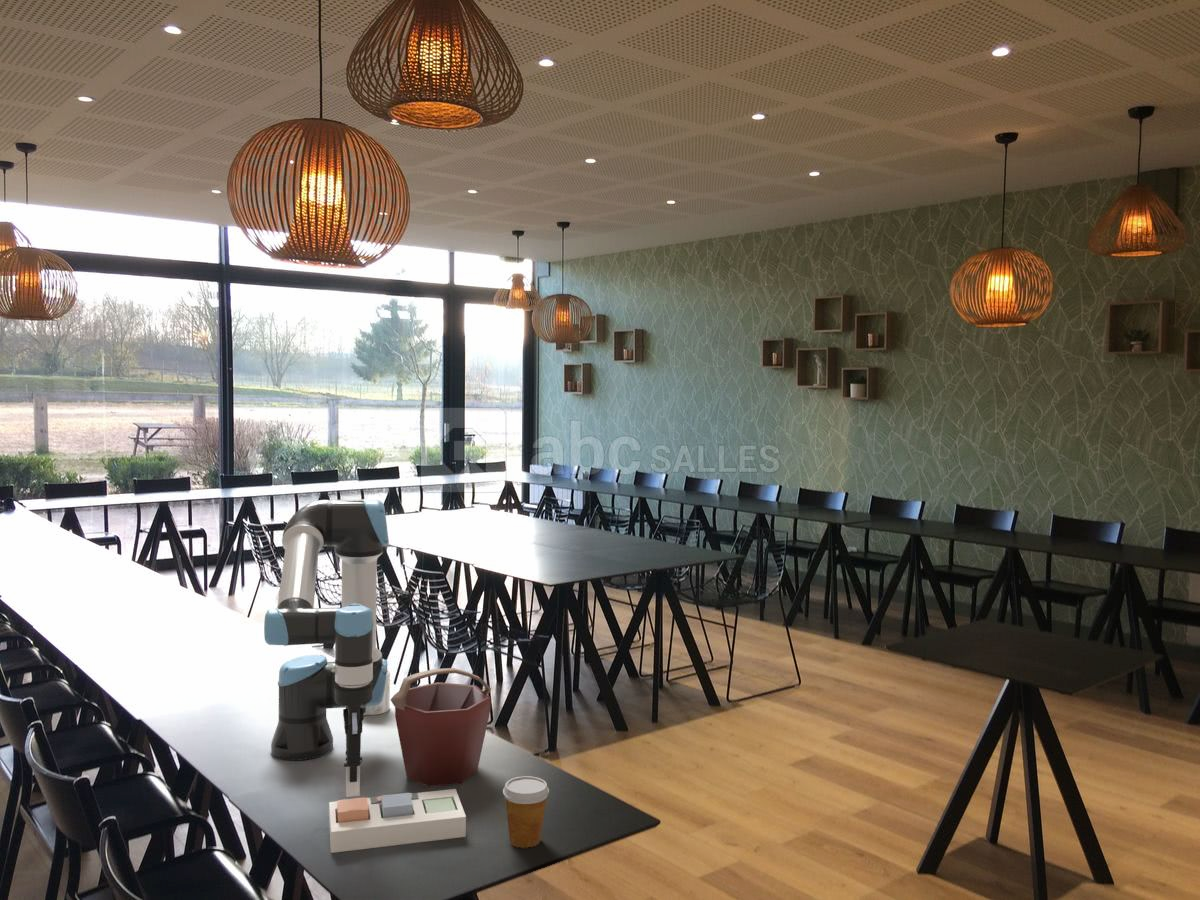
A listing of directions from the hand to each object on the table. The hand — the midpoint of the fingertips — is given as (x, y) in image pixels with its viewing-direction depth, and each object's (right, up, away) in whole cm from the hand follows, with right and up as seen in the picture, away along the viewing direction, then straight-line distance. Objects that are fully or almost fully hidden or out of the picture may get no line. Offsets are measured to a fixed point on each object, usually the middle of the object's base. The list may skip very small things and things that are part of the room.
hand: (352, 794), depth 195 cm
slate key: (+8, -5, +3) cm, 10 cm away
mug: (-14, -4, +75) cm, 76 cm away
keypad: (+8, -9, +4) cm, 12 cm away
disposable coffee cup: (+36, -10, 0) cm, 37 cm away
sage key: (+17, -7, +6) cm, 19 cm away
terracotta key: (0, -5, +1) cm, 5 cm away
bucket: (+12, -7, +34) cm, 37 cm away
